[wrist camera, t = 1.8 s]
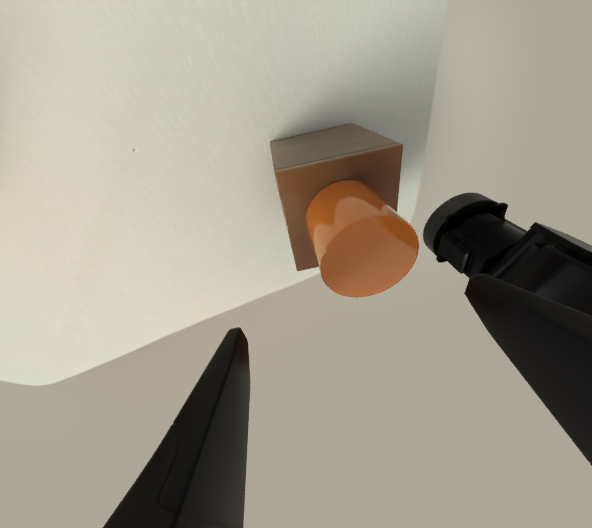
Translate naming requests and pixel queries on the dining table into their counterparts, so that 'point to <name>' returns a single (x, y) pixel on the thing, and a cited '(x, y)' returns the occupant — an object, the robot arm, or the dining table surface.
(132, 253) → the dining table surface
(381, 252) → the orange cylinder
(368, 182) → the brown rectangular block
